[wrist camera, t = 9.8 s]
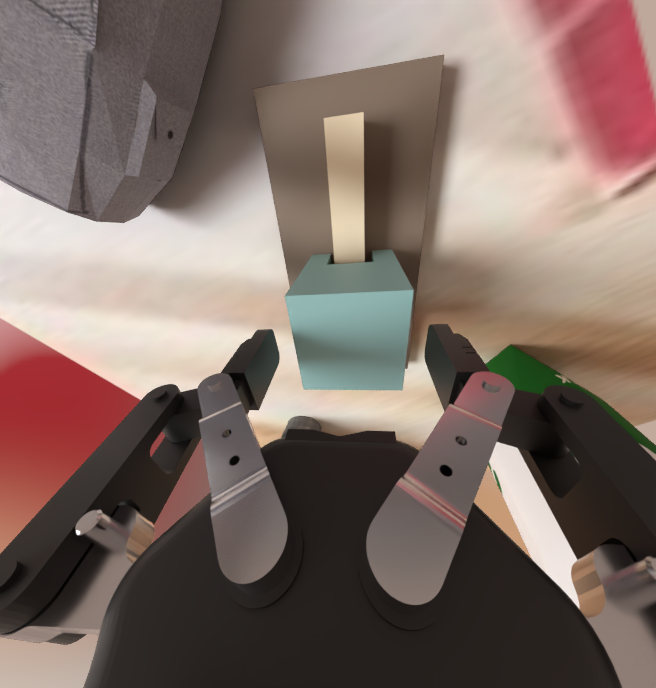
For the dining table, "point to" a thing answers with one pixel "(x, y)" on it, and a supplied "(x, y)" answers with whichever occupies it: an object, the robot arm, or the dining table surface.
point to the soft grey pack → (99, 98)
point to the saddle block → (351, 323)
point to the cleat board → (385, 158)
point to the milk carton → (519, 483)
